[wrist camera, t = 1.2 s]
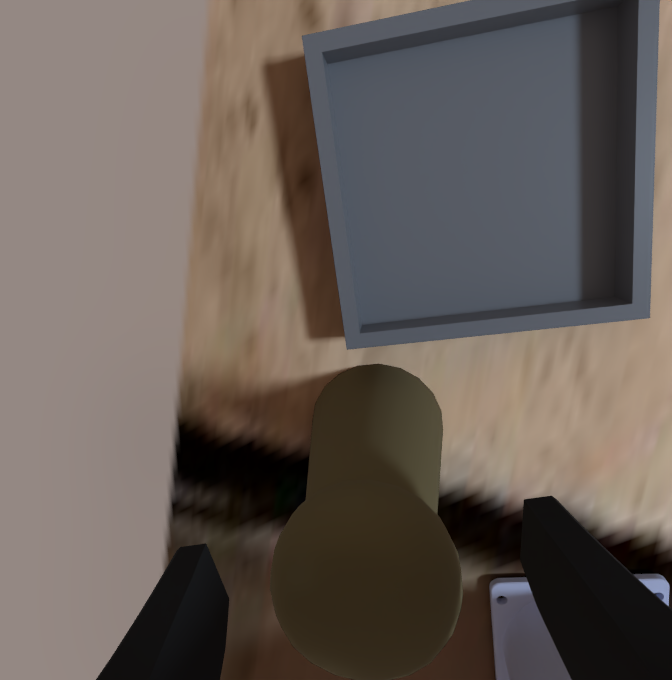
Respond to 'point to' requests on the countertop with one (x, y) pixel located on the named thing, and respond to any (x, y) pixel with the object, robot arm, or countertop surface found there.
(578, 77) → the tray
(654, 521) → the countertop surface
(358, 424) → the cork
